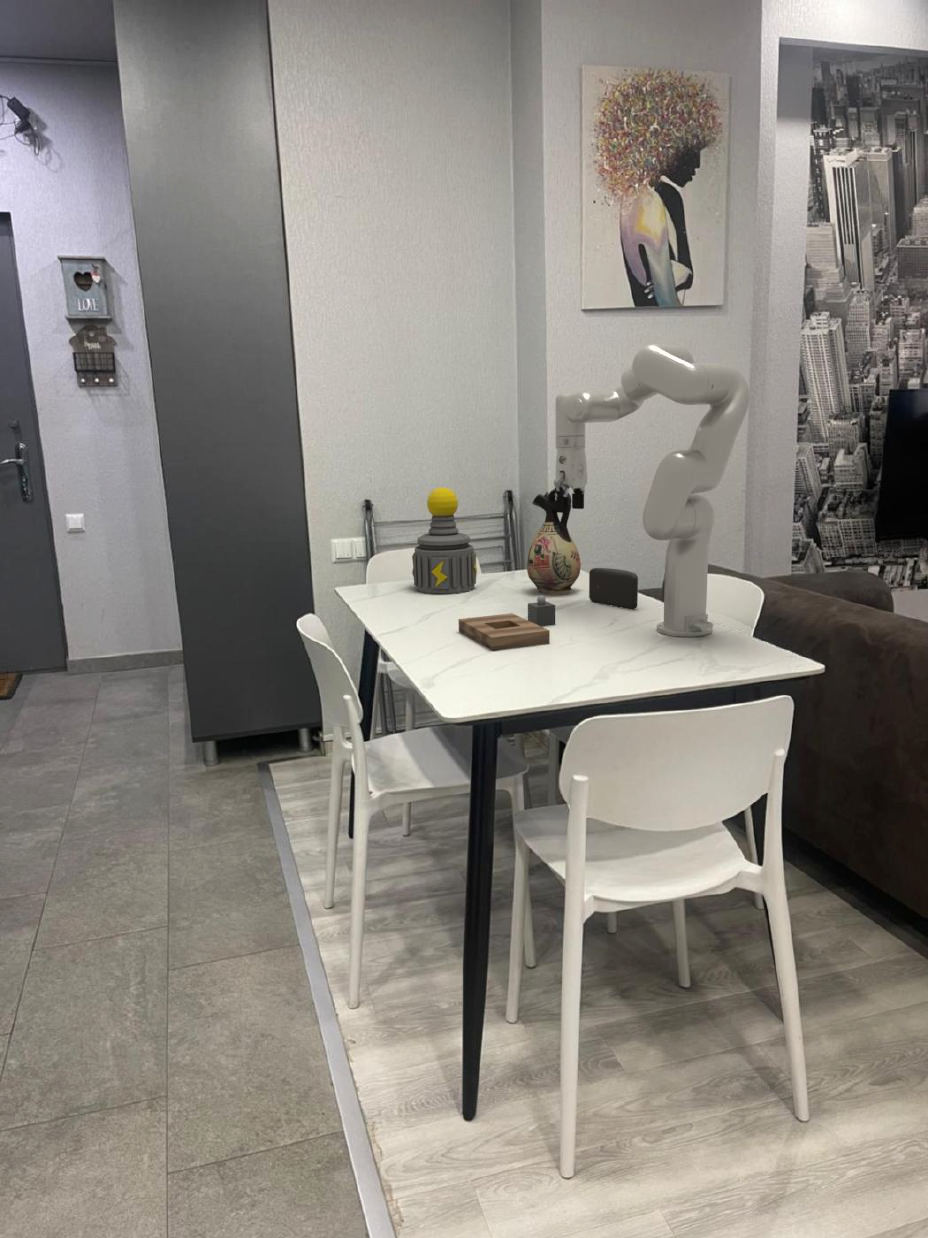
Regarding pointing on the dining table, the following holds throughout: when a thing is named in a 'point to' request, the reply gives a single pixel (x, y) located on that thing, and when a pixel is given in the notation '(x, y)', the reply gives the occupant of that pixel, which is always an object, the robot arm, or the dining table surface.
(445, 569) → the decorative lamp
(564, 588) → the ceramic jug
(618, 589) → the rounded red-dot block
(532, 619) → the plug
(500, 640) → the socket board
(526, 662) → the dining table surface
